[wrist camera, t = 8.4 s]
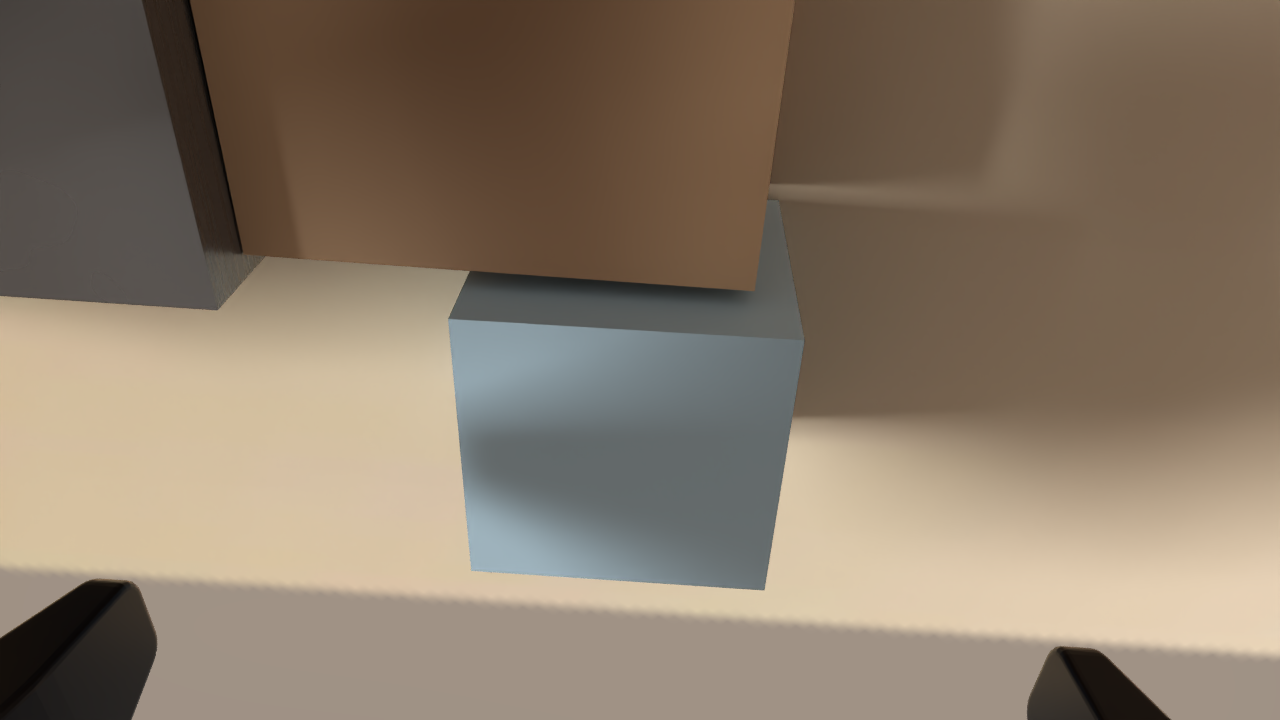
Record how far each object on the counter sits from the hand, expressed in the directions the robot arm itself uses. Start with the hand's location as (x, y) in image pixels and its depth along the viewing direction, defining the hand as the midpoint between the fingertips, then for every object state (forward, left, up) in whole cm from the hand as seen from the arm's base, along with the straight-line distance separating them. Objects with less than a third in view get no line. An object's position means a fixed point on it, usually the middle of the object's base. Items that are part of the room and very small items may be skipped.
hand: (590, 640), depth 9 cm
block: (0, 0, -7) cm, 7 cm away
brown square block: (+1, +5, -7) cm, 9 cm away
